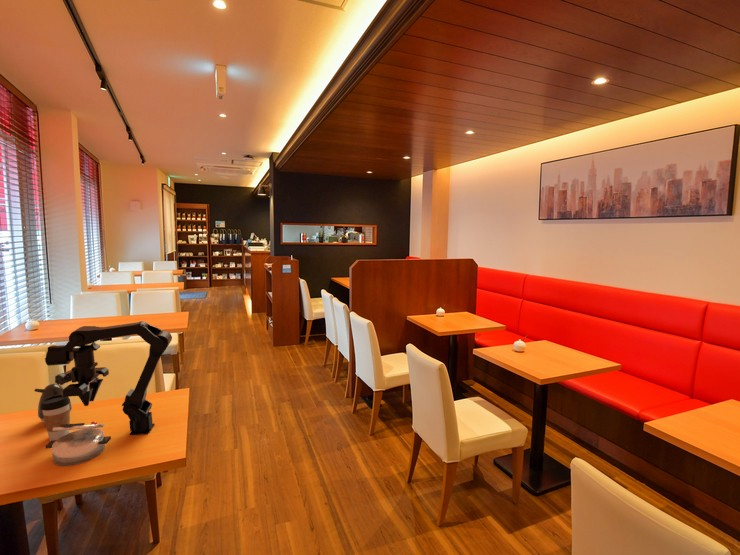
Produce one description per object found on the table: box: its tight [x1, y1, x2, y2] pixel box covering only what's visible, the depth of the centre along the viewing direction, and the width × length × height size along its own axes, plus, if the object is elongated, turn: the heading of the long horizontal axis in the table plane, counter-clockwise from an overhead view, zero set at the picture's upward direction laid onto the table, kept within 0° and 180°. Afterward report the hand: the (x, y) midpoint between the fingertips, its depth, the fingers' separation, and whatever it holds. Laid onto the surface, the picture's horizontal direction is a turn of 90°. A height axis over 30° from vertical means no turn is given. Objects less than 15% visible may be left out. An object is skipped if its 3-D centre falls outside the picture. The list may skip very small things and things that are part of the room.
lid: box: [53, 421, 105, 431], centre depth 129 cm, size 14×15×2 cm
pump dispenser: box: [34, 383, 73, 424], centre depth 148 cm, size 10×10×15 cm
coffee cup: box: [40, 394, 71, 441], centre depth 138 cm, size 8×8×15 cm
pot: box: [44, 428, 112, 467], centre depth 129 cm, size 18×14×5 cm
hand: (89, 403), depth 137 cm, fingers open, 3 cm apart
